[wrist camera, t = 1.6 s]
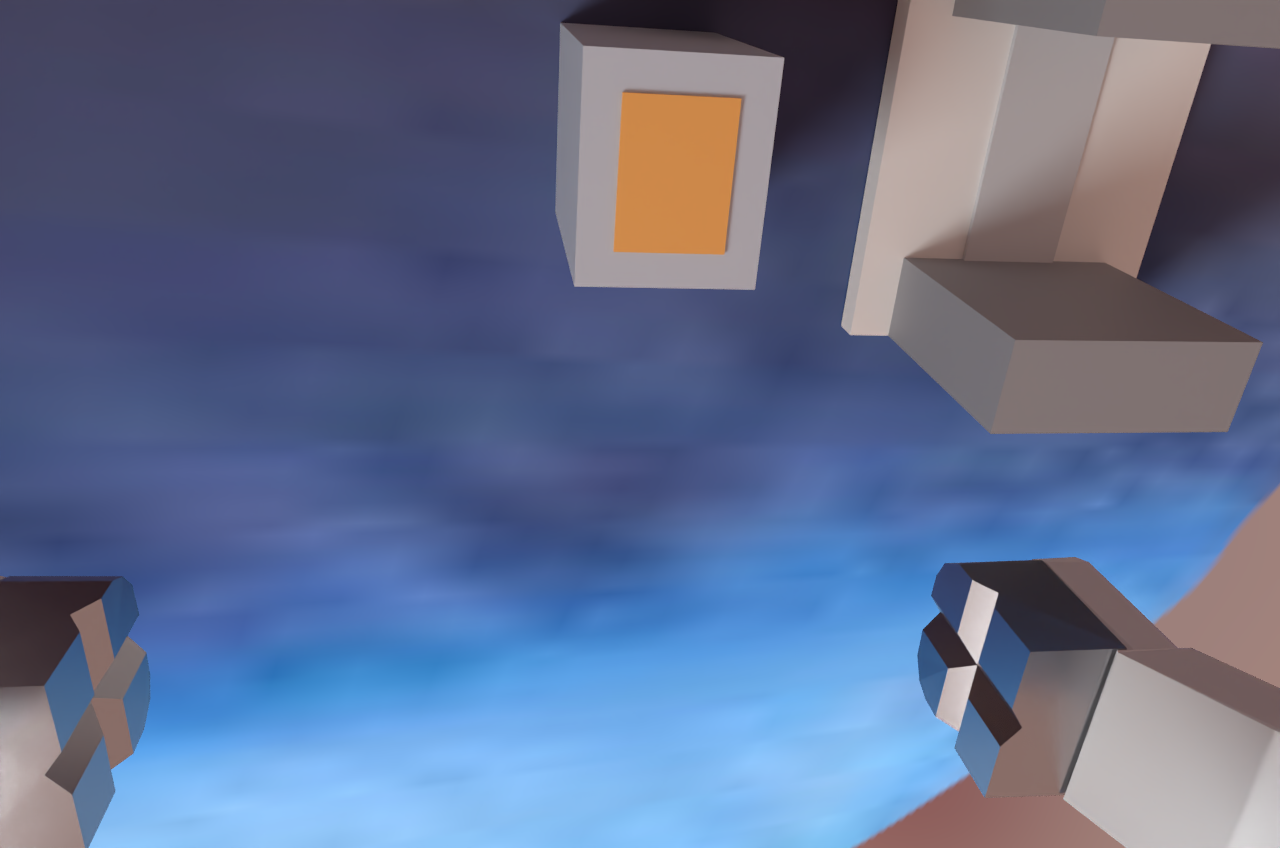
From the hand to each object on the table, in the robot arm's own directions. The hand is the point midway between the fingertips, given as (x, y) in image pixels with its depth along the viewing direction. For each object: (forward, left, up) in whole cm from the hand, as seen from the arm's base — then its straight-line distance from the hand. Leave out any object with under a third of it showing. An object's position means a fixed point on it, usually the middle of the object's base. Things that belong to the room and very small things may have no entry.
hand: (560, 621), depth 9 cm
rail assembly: (-1, +18, -24) cm, 30 cm away
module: (-1, +4, -24) cm, 24 cm away
